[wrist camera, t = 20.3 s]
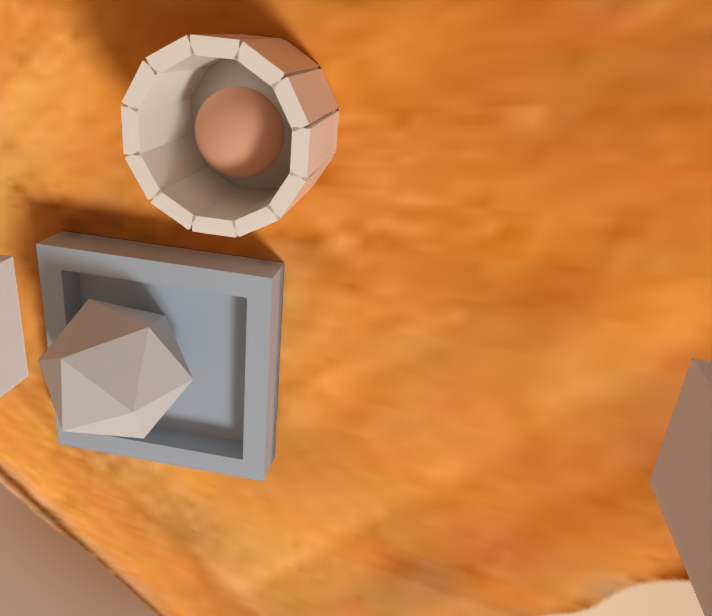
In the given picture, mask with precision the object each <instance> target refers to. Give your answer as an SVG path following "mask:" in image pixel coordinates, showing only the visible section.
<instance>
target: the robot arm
mask: <svg viewBox="0 0 712 616" xmlns="http://www.w3.org/2000/svg"><path fill="white" fill-rule="evenodd" d="M27 376H29V375H28V367H27V360H26V352H25V345H24V337H23V330H22V322H21V314H20V307H19V299H18V292H17V284H16V276H15V269H14V261H13V256H7V255H0V398H1V397H2V396H3V395H4V394H6V393H7V392H8V391H9V390H11V389H12V388H13V387H15V386H16V385H17V384H18V383H20V382H21V381H22V380H24V379H25V378H26V377H27ZM649 482H650V484H651V486H652V489H653V491H654V494H655V496H656V499H657V501H658V503H659V506H660V508H661V511H662V513H663V516H664V518H665V520H666V523H667V525H668V528H669V530H670V533H671V535H672V537H673V540H674V542H675V545H676V547H677V549H678V552H679V554H680V557H681V559H682V562H683V564H684V566H685V569H686V571H687V574H688V576H689V579H690V581H691V583H692V586H693V588H694V591H695V593H696V595H697V598H698V600H699V603H700V605H701V608H702V610H703V613H704V615H705V616H712V361H707V360H701V359H694V358H692V361H691V364H690V366H689V369H688V372H687V375H686V378H685V381H684V384H683V386H682V389H681V392H680V395H679V398H678V401H677V404H676V407H675V409H674V412H673V415H672V418H671V421H670V424H669V427H668V429H667V432H666V435H665V438H664V441H663V444H662V447H661V449H660V452H659V455H658V458H657V461H656V464H655V467H654V469H653V472H652V475H651V478H650V481H649Z"/></svg>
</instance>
